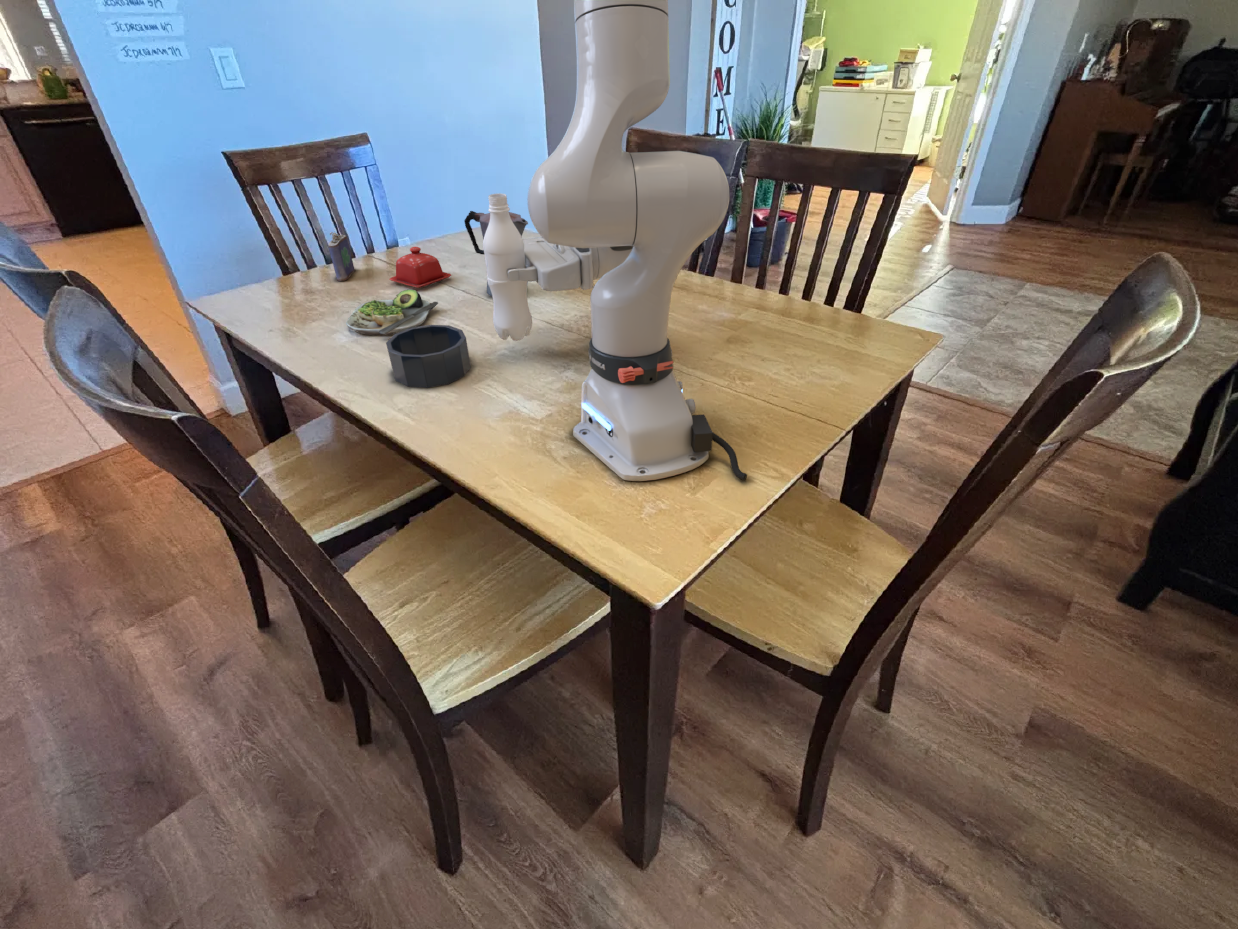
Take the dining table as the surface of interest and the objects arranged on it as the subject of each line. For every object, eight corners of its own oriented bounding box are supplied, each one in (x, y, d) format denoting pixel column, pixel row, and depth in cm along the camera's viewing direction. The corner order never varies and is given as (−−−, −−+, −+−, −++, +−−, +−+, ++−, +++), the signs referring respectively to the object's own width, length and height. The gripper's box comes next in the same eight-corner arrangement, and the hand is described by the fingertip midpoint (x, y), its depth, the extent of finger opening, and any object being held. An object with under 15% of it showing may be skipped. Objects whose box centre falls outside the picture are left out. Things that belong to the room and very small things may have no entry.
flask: (345, 281, 155) (333, 237, 149) (334, 281, 155) (321, 237, 149) (357, 269, 163) (346, 227, 157) (345, 270, 163) (334, 227, 157)
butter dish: (424, 271, 161) (417, 237, 156) (454, 279, 156) (449, 245, 151) (387, 283, 154) (379, 248, 149) (418, 293, 148) (410, 257, 143)
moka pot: (528, 302, 143) (519, 210, 131) (465, 298, 145) (451, 207, 134) (541, 287, 150) (533, 199, 139) (481, 284, 153) (468, 197, 141)
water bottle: (517, 346, 114) (499, 202, 99) (487, 338, 117) (466, 197, 103) (541, 332, 119) (527, 193, 104) (512, 325, 122) (495, 188, 107)
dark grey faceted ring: (476, 378, 112) (471, 348, 109) (398, 393, 108) (391, 362, 105) (462, 349, 123) (457, 320, 119) (390, 361, 118) (383, 332, 115)
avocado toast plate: (424, 340, 126) (419, 318, 123) (335, 342, 126) (328, 321, 123) (442, 305, 142) (439, 285, 139) (363, 307, 141) (358, 287, 139)
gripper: (556, 225, 120) (486, 234, 116) (594, 255, 105) (514, 267, 101) (559, 258, 124) (490, 268, 120) (595, 292, 109) (518, 304, 104)
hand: (501, 267), depth 110 cm, fingers closed on water bottle, 7 cm apart
